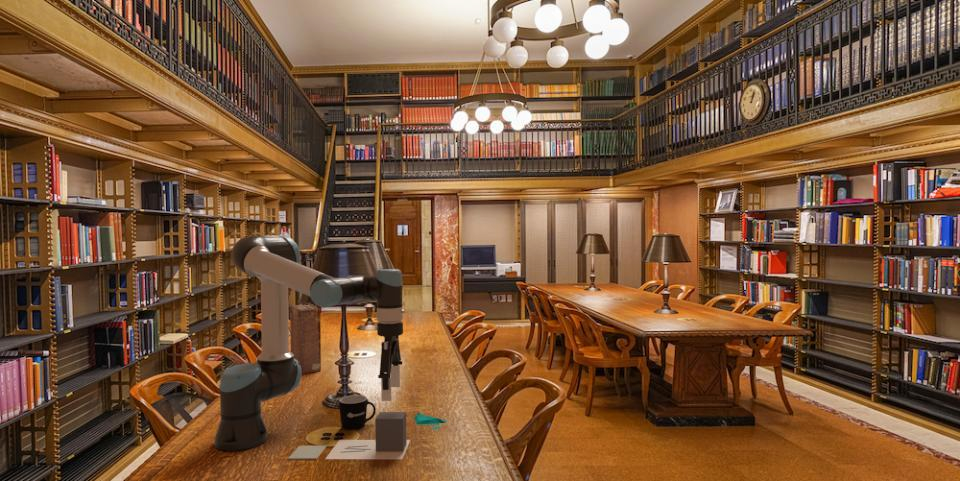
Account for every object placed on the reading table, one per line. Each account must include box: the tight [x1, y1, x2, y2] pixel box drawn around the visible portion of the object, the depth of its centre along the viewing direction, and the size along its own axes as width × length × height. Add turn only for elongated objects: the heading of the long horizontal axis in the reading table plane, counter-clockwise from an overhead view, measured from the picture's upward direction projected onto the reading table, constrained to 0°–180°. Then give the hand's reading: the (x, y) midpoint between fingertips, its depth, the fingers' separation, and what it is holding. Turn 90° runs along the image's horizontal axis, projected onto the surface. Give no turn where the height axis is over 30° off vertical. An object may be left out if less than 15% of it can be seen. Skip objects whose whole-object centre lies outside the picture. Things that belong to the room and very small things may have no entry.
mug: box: [338, 394, 377, 431], centre depth 176 cm, size 12×9×10 cm
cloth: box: [413, 412, 447, 430], centre depth 178 cm, size 26×14×2 cm, turn 12°
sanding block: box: [374, 411, 407, 453], centre depth 155 cm, size 8×6×10 cm
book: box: [289, 304, 322, 374], centre depth 259 cm, size 25×9×30 cm, turn 30°
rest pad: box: [287, 445, 327, 460], centre depth 156 cm, size 10×9×1 cm
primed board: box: [325, 439, 411, 460], centre depth 156 cm, size 22×14×1 cm, turn 89°
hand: (391, 393), depth 155 cm, fingers open, 13 cm apart
